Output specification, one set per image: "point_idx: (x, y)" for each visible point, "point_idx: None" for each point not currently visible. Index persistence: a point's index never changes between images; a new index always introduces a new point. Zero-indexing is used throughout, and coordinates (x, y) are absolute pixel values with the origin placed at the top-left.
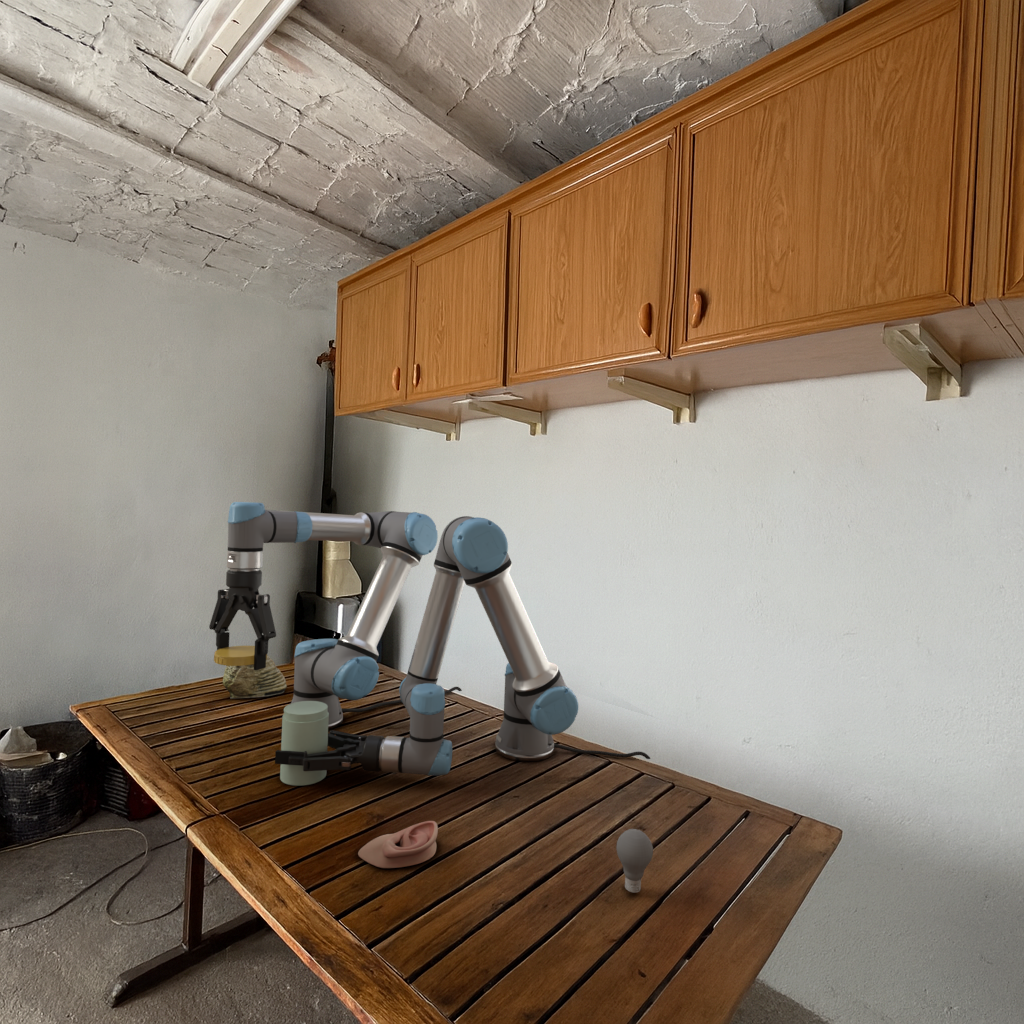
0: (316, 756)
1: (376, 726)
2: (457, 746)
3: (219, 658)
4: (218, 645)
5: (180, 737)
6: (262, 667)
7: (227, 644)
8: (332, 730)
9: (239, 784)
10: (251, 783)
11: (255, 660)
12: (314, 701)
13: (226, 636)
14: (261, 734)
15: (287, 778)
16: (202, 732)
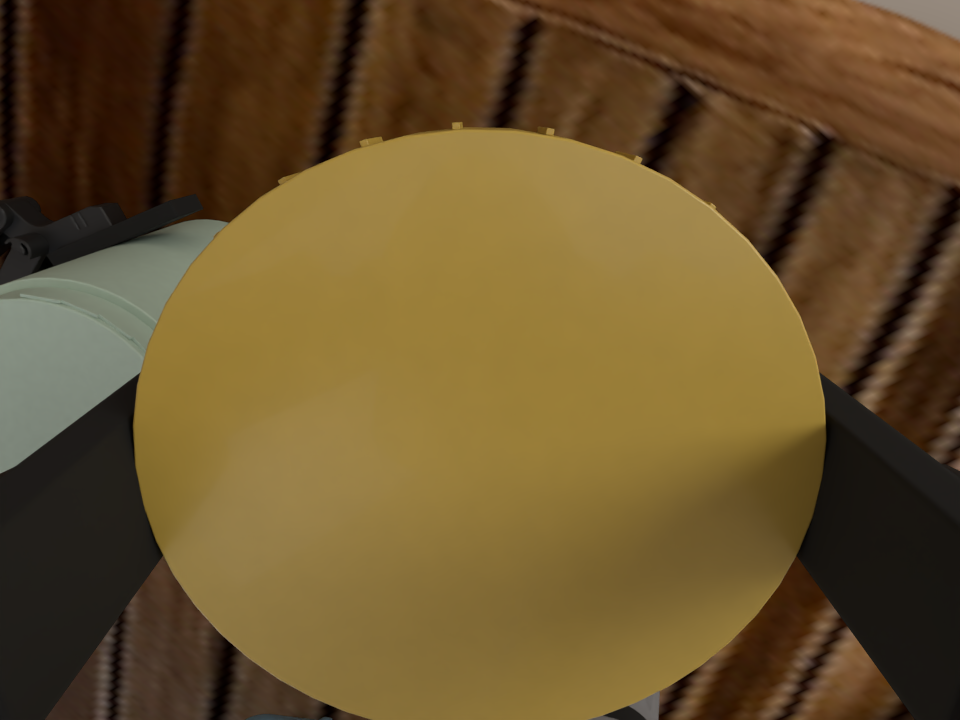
0: (3, 271)
1: (344, 713)
2: None
3: (514, 129)
4: (884, 444)
5: (920, 326)
6: None
7: (825, 565)
8: None
9: (352, 123)
10: (321, 155)
11: (134, 394)
12: None
13: (913, 646)
14: None
15: (195, 223)
16: (872, 403)
